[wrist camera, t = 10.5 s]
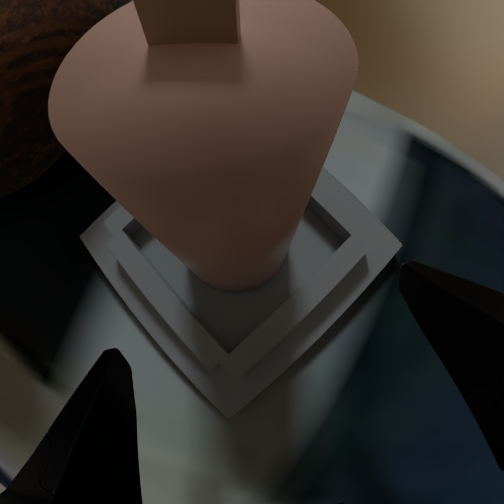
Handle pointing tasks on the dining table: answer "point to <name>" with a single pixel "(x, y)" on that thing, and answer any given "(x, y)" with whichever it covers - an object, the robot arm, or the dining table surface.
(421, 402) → the dining table surface
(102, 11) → the jug
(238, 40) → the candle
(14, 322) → the dining table surface
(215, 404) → the dish
